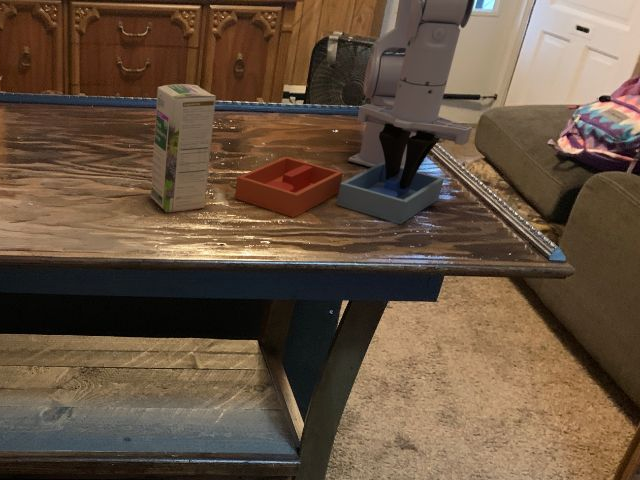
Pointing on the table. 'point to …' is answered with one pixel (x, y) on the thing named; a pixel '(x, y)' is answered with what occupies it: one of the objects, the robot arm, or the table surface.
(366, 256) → the table surface
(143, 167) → the table surface
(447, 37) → the robot arm
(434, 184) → the blue bin
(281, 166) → the red bin
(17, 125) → the table surface
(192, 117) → the syrup box
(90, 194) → the table surface
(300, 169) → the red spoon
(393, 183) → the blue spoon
